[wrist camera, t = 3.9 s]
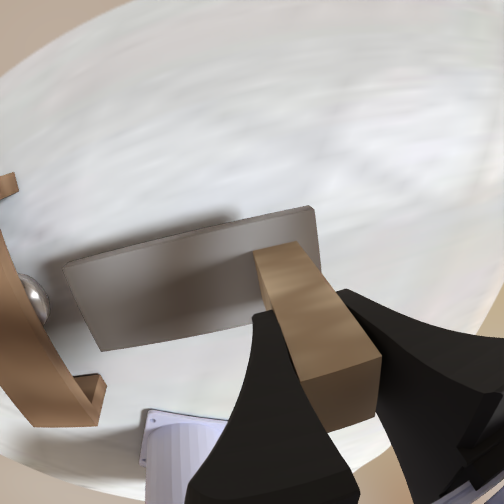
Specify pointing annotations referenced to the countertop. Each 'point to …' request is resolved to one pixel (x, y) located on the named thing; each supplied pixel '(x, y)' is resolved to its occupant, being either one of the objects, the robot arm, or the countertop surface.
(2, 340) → the brown wooden bridge
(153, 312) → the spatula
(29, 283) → the silver flat dome
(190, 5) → the countertop surface
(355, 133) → the countertop surface
